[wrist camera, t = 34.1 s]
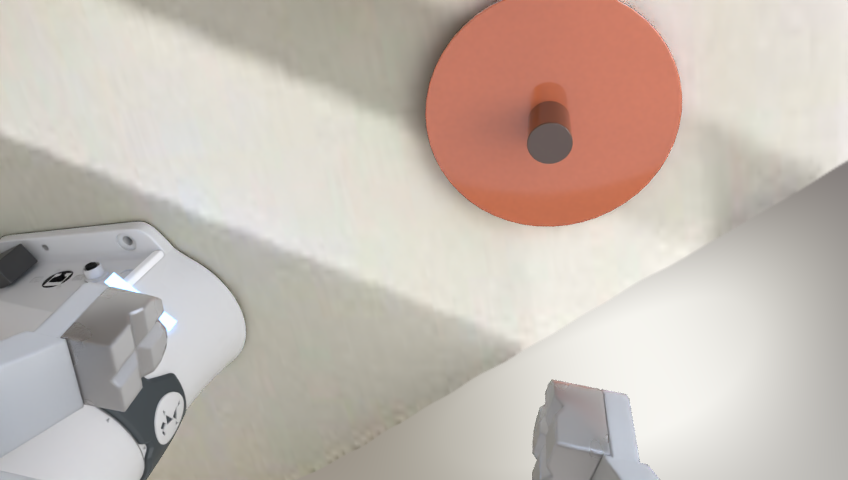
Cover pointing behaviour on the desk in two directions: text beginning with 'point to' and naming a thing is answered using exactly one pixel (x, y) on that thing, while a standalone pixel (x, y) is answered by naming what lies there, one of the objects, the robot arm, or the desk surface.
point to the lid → (553, 109)
